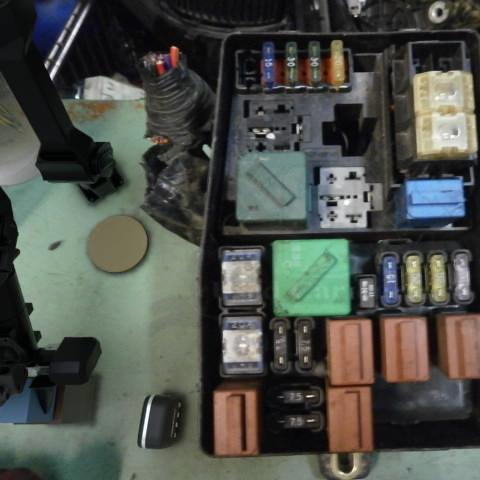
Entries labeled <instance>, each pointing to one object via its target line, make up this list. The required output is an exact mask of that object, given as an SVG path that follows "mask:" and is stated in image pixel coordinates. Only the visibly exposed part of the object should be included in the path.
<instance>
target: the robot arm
mask: <svg viewBox="0 0 480 480" xmlns="http://www.w3.org/2000/svg"><path fill="white" fill-rule="evenodd" d="M37 19H38V13H37V10H36V8H35V0H0V75H1V76H2V78H3V80H4V82H5V84H6V85H7V87H8V89H9V90H10V92H11V94H12V96H13V98H14V99H15V101H16V103H17V104H18V106H19V108H20V110H21V112H22V113H23V115H24V117H25V119H26V120H27V122H28V124H29V126H30V128H31V129H32V131H33V133H34V134H35V136H36V138H37V139H38V143H39V144H40V145H39V148H38V151H37V154H36V159H35V163H34V166H35V168H36V169H37V170H38V171H39V174H40V175H41V178H42V181H43V182H47V183H49V184H77V186H78V187H79V188H80V190H81V192H82V193H83V195H84V196H85V198H86V199H87V201H88V202H89V203H91V204H93V203H95V202H97V201H99V200H100V199H104V198H106V197H107V196H109V195H111V194H112V193H114V192H115V191H116V190H118V189H119V188H120V187H122V186H124V185H125V180H124V178H123V177H122V175H121V174H120V172H119V171H118V169H117V168H116V167H117V163H118V162H117V161H116V160H115V158H114V148H113V146H112V143H111V142H110V141H94V138H93V137H92V136H90V135H89V134H87V133H85V132H84V131H82V130H81V129H78V128H77V127H75V125H74V123H73V121H72V119H71V117H70V115H69V112H68V111H67V108H66V106H65V105H64V102H63V100H62V99H61V96H60V94H59V92H58V89H57V88H56V85H55V83H54V81H53V79H52V77H51V75H50V73H49V71H48V69H47V67H46V65H45V63H44V60H43V58H42V56H41V54H40V52H39V50H38V48H37V46H36V44H35V41H34V39H33V37H34V32H35V29H36V24H37ZM12 204H13V203H12V200H11V197H9V195H8V194H7V192H6V191H5V190H4V189H3V187H2V186H1V185H0V407H1V406H3V405H4V404H5V402H6V401H7V400H8V399H9V398H10V396H11V395H14V394H21V393H22V392H23V389H24V386H25V384H26V381H27V378H28V376H29V374H30V373H29V372H30V370H31V371H34V370H35V372H36V374H35V375H34V376H35V378H34V379H33V381H32V383H31V384H30V386H29V388H30V389H36V392H37V395H38V399H39V402H40V406H41V409H42V410H43V412H44V414H48V413H49V411H50V409H51V405H52V401H53V397H54V392H55V388H56V386H57V385H83V384H85V383H87V382H88V381H89V379H90V378H91V377H92V374H93V372H94V370H95V368H96V367H97V364H98V362H99V360H100V358H101V356H102V354H103V349H102V346H101V342H100V341H99V339H98V338H97V337H96V336H63V338H62V339H61V342H60V343H49V344H47V345H45V346H43V347H39V346H38V344H39V342H40V341H41V339H42V338H43V336H42V332H41V330H34V328H33V324H32V321H31V318H30V316H31V314H32V313H33V312H34V311H35V308H34V305H33V302H26V301H25V297H24V294H23V290H22V287H21V284H20V280H19V276H18V274H17V270H16V267H15V263H14V261H15V260H16V259H17V258H18V257H19V256H20V254H21V249H20V248H19V247H18V248H17V243H18V239H19V236H20V233H19V228H18V224H17V222H16V220H15V216H14V211H13V210H14V209H13V205H12Z"/></svg>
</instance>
